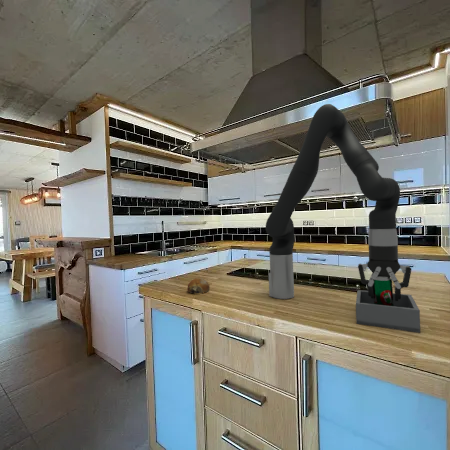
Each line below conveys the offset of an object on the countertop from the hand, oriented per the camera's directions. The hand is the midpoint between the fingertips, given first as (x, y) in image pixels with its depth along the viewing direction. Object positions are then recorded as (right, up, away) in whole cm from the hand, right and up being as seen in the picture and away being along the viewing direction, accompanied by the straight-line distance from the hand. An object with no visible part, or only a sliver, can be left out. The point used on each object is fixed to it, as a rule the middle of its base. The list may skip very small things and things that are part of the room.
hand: (384, 298), depth 78 cm
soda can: (0, -5, 0) cm, 5 cm away
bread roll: (-60, -8, +39) cm, 72 cm away
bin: (0, -6, 0) cm, 6 cm away
